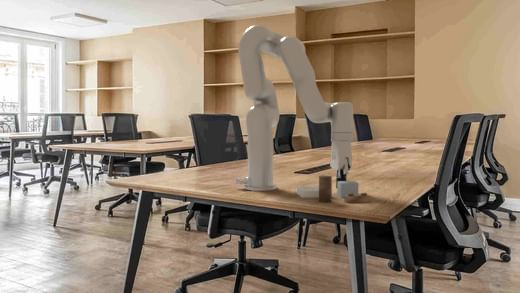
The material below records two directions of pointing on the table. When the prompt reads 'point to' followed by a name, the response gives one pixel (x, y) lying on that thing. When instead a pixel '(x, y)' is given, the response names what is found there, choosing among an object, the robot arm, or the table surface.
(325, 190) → the dowel
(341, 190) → the pale blue block
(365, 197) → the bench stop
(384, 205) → the table surface
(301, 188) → the tray
